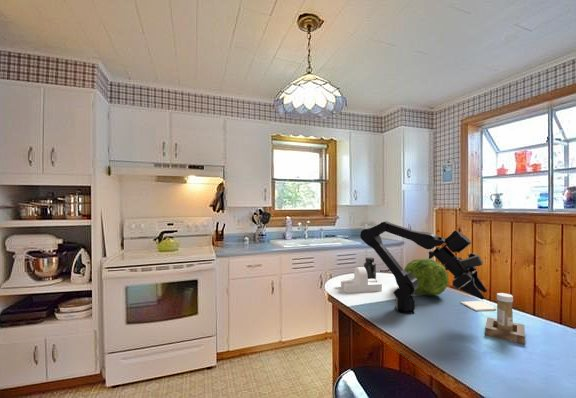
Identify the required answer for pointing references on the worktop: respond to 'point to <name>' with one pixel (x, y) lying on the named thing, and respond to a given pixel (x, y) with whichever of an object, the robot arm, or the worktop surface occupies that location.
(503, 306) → the sprinkles bottle
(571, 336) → the worktop surface
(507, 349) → the worktop surface
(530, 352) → the worktop surface
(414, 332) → the worktop surface
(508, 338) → the socket block
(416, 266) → the lettuce
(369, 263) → the supplement bottle
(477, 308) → the pad
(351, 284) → the bracket
